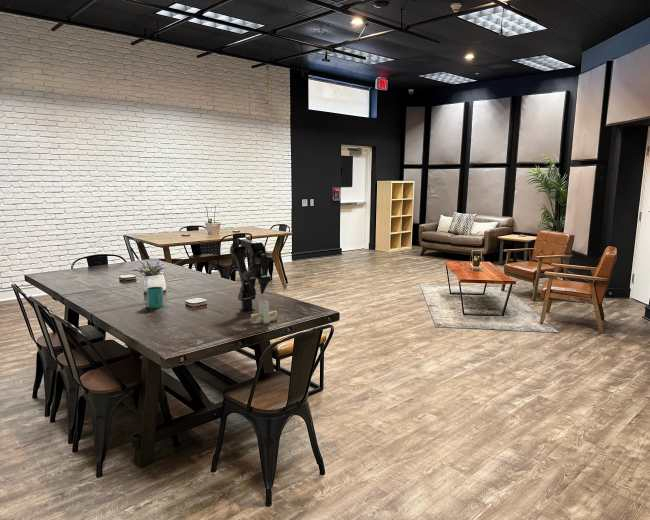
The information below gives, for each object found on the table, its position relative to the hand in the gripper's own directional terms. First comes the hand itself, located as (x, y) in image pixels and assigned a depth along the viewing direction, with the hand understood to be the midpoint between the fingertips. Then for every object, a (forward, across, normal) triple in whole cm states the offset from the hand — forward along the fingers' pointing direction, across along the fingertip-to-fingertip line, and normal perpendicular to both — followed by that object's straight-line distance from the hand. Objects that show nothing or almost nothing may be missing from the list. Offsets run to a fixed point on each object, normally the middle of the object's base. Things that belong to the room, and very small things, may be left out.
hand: (257, 292), depth 264 cm
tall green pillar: (+13, +12, -4) cm, 18 cm away
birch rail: (+13, +12, -4) cm, 18 cm away
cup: (+13, -56, -34) cm, 67 cm away
